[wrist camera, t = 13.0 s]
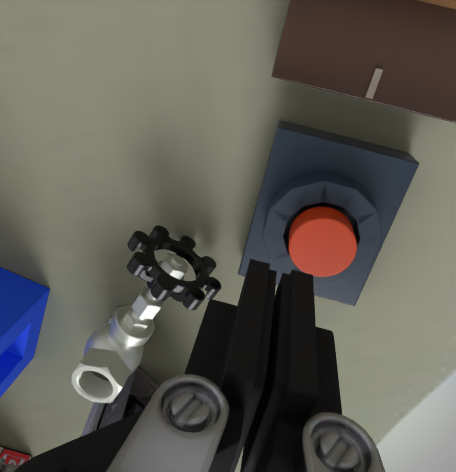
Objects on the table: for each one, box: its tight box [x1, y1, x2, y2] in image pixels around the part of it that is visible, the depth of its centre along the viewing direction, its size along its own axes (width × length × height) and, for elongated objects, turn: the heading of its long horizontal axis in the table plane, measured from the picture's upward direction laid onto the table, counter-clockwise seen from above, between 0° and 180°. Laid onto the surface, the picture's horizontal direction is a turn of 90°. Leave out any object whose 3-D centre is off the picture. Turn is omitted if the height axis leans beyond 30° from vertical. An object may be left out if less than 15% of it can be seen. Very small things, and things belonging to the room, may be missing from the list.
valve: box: [70, 225, 221, 403], centre depth 29 cm, size 7×7×12 cm
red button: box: [289, 206, 357, 277], centre depth 23 cm, size 4×4×2 cm
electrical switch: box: [81, 367, 160, 437], centre depth 33 cm, size 9×5×9 cm, turn 43°
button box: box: [238, 120, 419, 306], centre depth 25 cm, size 10×8×4 cm
